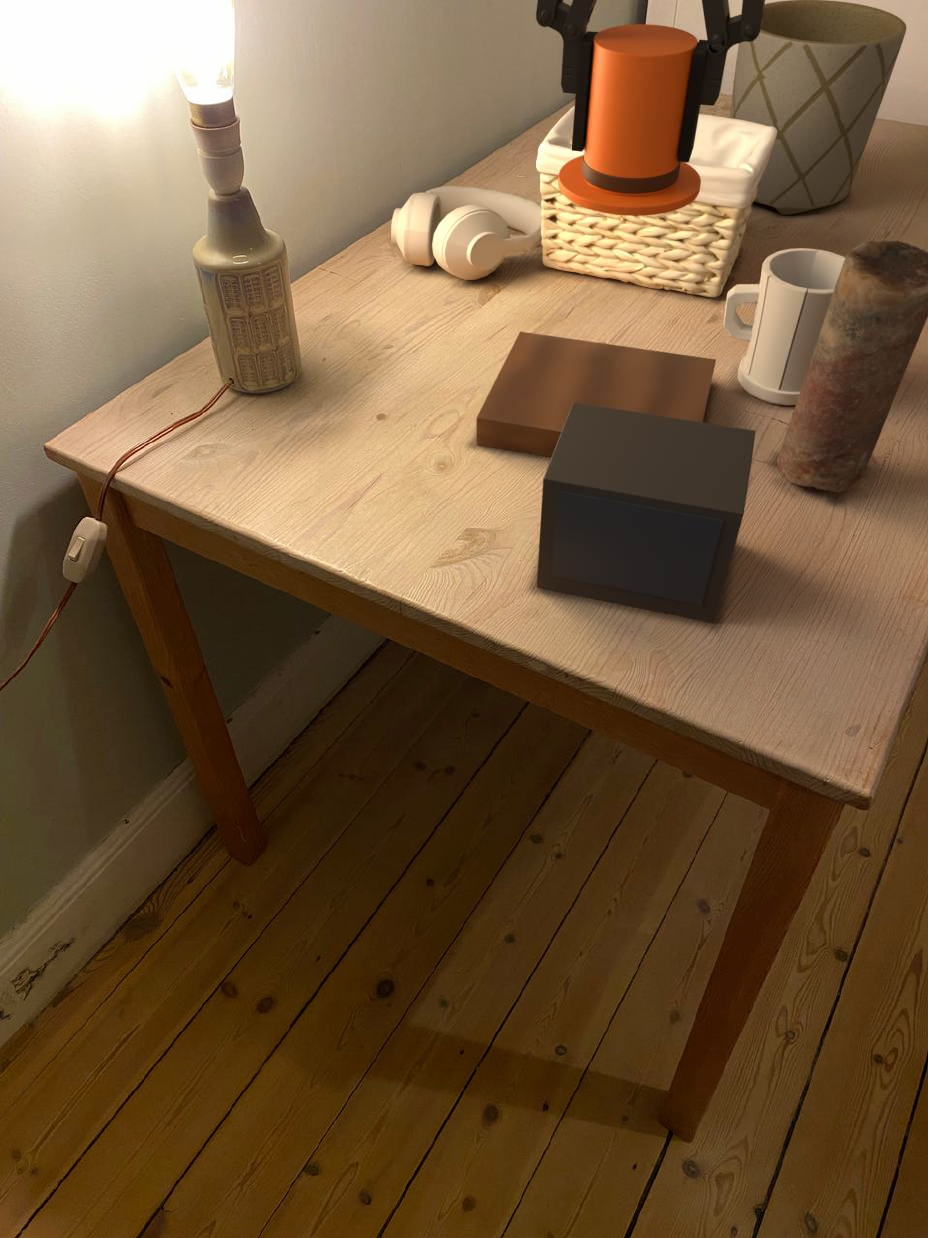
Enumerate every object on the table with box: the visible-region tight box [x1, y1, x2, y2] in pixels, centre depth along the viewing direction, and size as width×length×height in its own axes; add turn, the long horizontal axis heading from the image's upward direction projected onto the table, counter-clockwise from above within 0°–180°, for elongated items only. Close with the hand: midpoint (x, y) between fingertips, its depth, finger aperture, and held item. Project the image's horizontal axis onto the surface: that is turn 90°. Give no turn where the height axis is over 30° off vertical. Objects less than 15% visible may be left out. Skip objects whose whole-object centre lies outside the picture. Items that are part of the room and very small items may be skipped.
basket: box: [535, 105, 777, 298], centre depth 105 cm, size 24×16×15 cm
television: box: [536, 402, 757, 624], centre depth 71 cm, size 14×10×11 cm
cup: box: [722, 247, 846, 407], centre depth 88 cm, size 10×9×12 cm
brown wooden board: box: [475, 331, 717, 458], centre depth 88 cm, size 20×16×3 cm
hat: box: [558, 23, 701, 216], centre depth 62 cm, size 10×10×9 cm
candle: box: [776, 240, 928, 493], centre depth 75 cm, size 8×7×20 cm
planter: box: [728, 0, 907, 216], centre depth 117 cm, size 19×19×20 cm
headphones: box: [390, 185, 543, 281], centre depth 111 cm, size 18×8×20 cm
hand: (632, 148), depth 63 cm, fingers closed on hat, 7 cm apart
